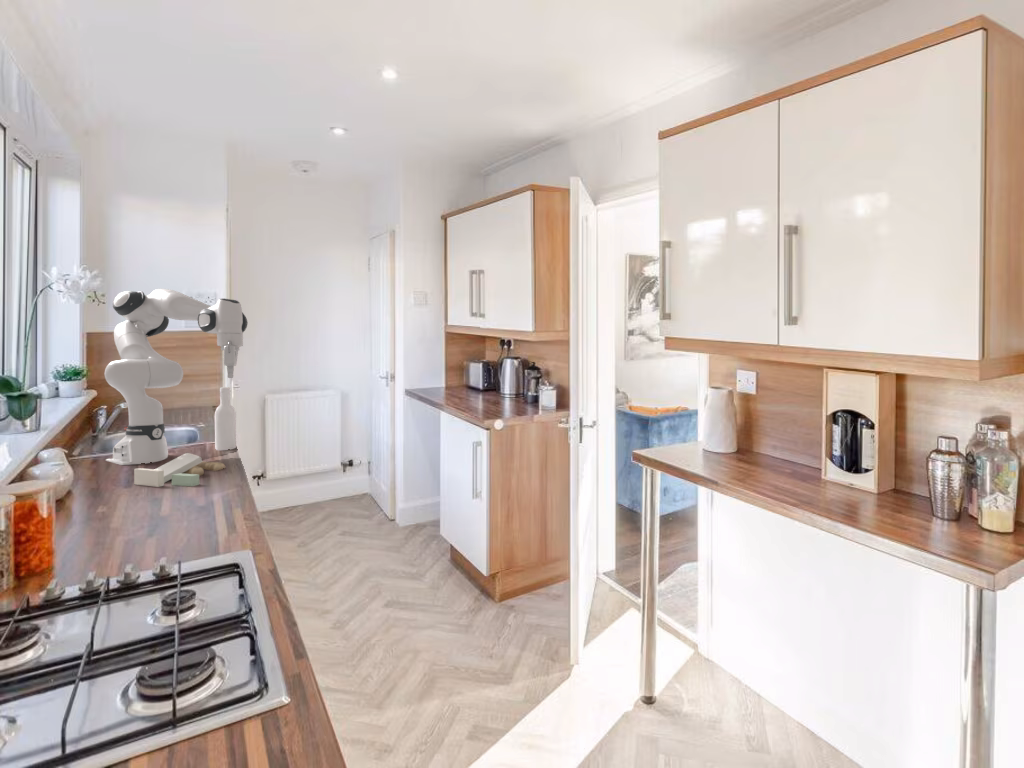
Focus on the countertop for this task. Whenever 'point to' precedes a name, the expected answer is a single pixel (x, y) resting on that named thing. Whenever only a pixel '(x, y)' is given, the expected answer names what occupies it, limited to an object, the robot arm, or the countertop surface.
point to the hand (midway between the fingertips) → (230, 377)
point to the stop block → (149, 477)
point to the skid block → (185, 479)
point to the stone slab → (179, 465)
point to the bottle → (225, 422)
